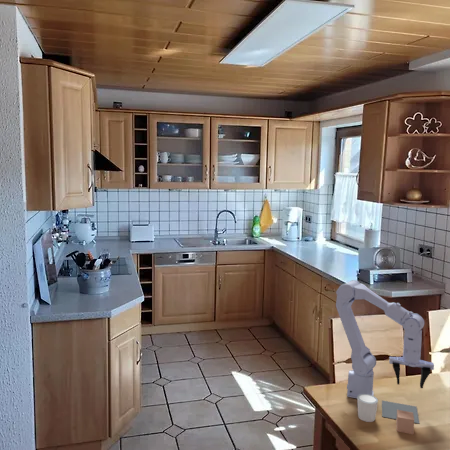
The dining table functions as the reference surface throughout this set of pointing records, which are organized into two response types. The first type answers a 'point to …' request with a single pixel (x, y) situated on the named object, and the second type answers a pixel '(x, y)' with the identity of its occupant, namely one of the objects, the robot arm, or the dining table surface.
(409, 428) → the terracotta block
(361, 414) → the white cup
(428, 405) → the dining table surface
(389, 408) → the slate mat
